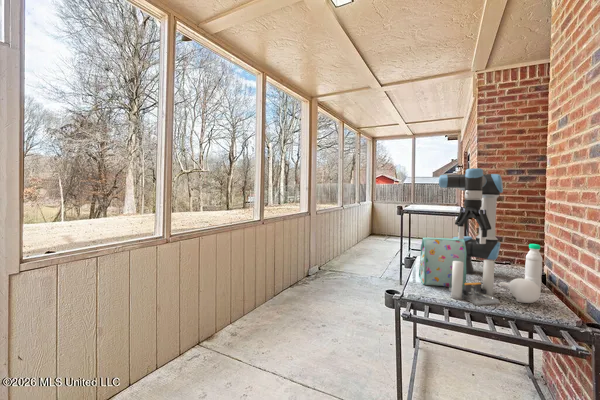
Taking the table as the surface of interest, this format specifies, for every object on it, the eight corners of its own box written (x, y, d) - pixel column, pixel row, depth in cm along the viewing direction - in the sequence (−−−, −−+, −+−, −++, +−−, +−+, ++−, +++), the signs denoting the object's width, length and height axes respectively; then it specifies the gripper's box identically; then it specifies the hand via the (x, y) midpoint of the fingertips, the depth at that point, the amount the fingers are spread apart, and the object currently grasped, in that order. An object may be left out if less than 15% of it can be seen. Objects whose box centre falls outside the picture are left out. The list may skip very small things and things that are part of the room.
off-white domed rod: (478, 294, 141) (479, 259, 140) (487, 293, 142) (488, 259, 141) (487, 298, 135) (489, 262, 135) (496, 297, 136) (498, 262, 136)
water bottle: (534, 292, 145) (537, 245, 145) (520, 287, 152) (523, 243, 152) (544, 291, 147) (546, 245, 147) (530, 286, 154) (532, 242, 153)
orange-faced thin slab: (463, 291, 137) (464, 283, 137) (478, 290, 138) (479, 282, 138) (465, 292, 135) (466, 284, 135) (481, 291, 137) (481, 283, 137)
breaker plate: (448, 291, 145) (449, 283, 145) (468, 289, 147) (468, 282, 147) (476, 305, 127) (476, 296, 127) (498, 303, 129) (498, 295, 129)
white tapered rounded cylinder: (447, 296, 137) (449, 260, 137) (457, 295, 138) (458, 260, 138) (455, 300, 132) (457, 263, 132) (465, 299, 133) (467, 263, 133)
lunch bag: (459, 281, 161) (461, 236, 160) (468, 291, 145) (470, 240, 144) (417, 277, 167) (418, 233, 166) (421, 286, 151) (423, 238, 151)
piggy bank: (541, 311, 125) (520, 301, 140) (550, 287, 125) (528, 279, 140) (513, 301, 127) (495, 291, 142) (521, 277, 127) (503, 270, 142)
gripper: (448, 198, 149) (447, 237, 150) (487, 199, 124) (485, 246, 125) (460, 198, 150) (459, 236, 151) (501, 200, 126) (499, 245, 126)
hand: (471, 241), depth 138 cm, fingers open, 13 cm apart
